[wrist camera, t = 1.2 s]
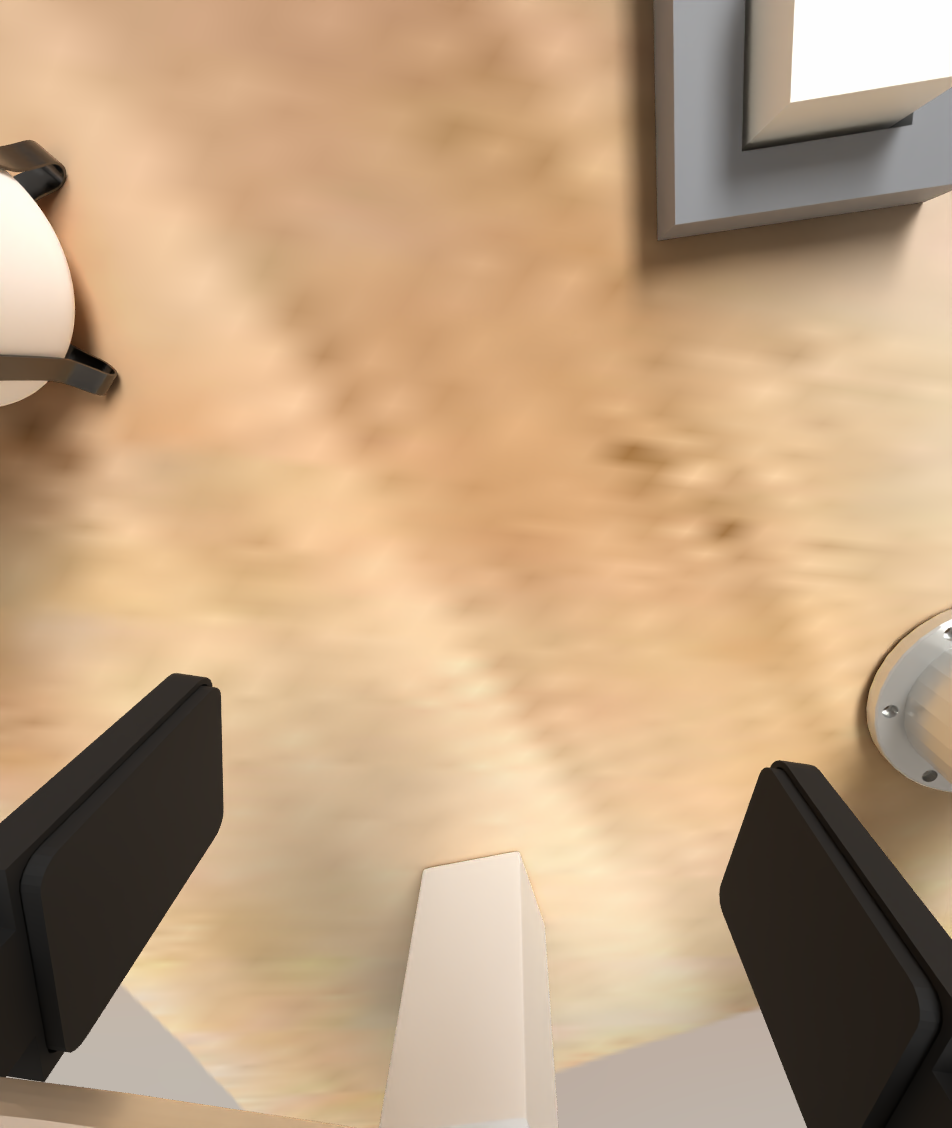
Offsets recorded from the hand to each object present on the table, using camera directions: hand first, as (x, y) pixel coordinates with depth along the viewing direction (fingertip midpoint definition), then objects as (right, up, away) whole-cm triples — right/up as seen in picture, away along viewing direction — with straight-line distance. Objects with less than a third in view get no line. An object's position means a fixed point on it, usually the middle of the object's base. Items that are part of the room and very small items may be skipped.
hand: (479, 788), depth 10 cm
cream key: (+14, +25, +13) cm, 31 cm away
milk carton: (+1, -20, +31) cm, 37 cm away
